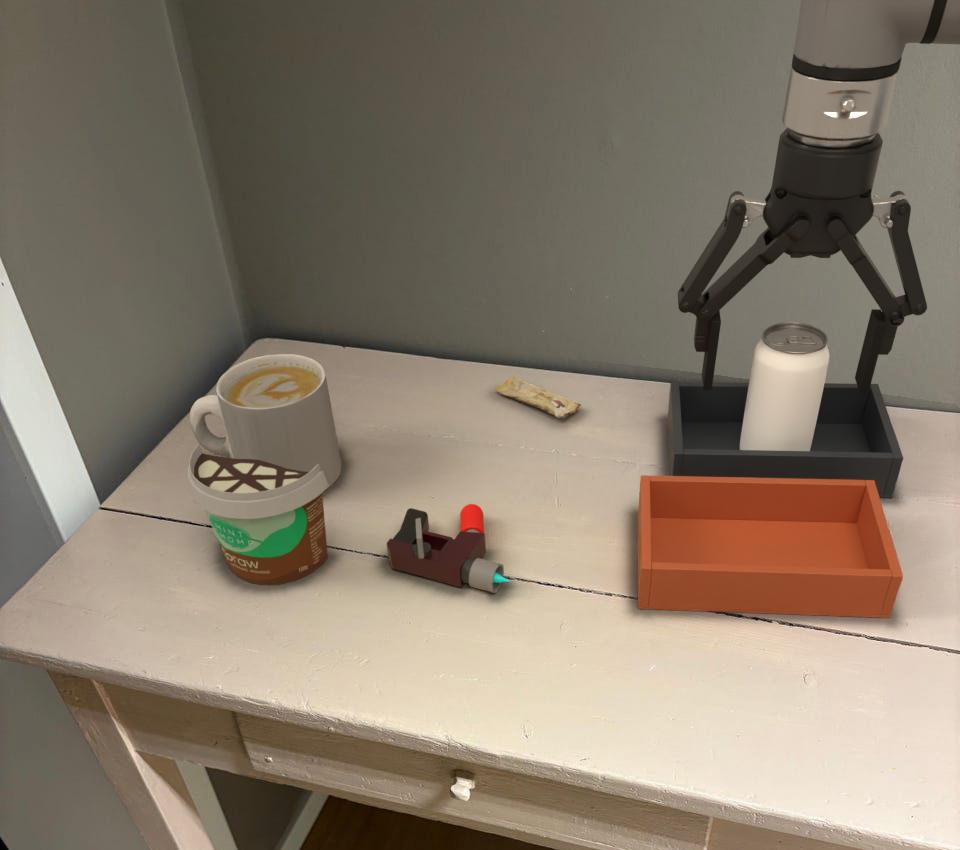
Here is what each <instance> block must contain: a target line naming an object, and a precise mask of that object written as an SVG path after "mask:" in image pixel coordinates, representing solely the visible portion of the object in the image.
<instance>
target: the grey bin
mask: <svg viewBox="0 0 960 850" xmlns="http://www.w3.org/2000/svg"><path fill="white" fill-rule="evenodd" d="M669 384H670V385H669V397H668V407H667V419H666V423H667V444H668V446H667V447H668V466H669V476H698V477H746V478H794V479H842V480H874V481H875V484H876V488H877V491H878V494H879V498H880V499H892V498H893V495H894V492H895V488H896V485H897V482H898V479H899V475H900V471H901V468H902V466H903V465H902V464H903V461H904V455H903V453H902V450H901V447H900V443H899V441H898V438H897V435H896V432H895V429H894V427H893V424H892V421H891V418H890V415H889V411H888V409H887V406H886V403H885V399H884V397H883V394H882V391H881V389H880V386H879V383H871V385H870V389H869V393H859V389H858V386H857V383H835V382H834V383H831V382H829V383H827V382H825V383H824V388H823V393H822V398H821V402H820V407H819V412H818V416H817V421H816V426H815V430H814V435H813V440H812V444H811V449H810V451H765V450H740V439H741V432H742V425H743V419H744V412H745V406H746V399H747V393H748V386H749V382H739V381H738V382H731V381H729V382H728V381H727V382H725V381H713V384H712V390H703V383H702V381H670V383H669Z"/></svg>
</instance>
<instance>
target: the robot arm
mask: <svg viewBox="0 0 960 850" xmlns="http://www.w3.org/2000/svg"><path fill="white" fill-rule="evenodd" d="M906 44H919V45H920V44H921V45H931V44H933V45H936V44H937V45H959V46H960V0H800V6H799V11H798V20H797V27H796V33H795V40H794V48H793V54H792V60H791V66H790V71H789V78H788V84H787V90H786V94H785V95H786V96H785V99H784V100H785V101H784V107H783V113H782V118H781V121H782V124H783V126H784V127H785V129H784V130H783V131H782V132H781V133H780V135H779V138H778V143H777V144H778V145H777V151H776V155H775V156H776V157H775V162H774V171H773V176H772V182H771V188H770V190H769V192H768V194H767V195H766V197H764V198H756V197H755V198H754V197H746V196H745V195H744V193H743V192H742V191H740V190H738V191H737V190H735V191H733V192H731V194H730V195H729V197H728V201H727V205H726V210H725V213H724V217H723V220H722V221H721V223H720V224H719V226H718V227H717V229H716V231H715V232H714V233H713V236H711V239H710V240H709V241H708V243H707V245H706V246H705V248H704V249H703V251H702V253H701V254H700V256H699V258H697V261H696V262H695V264H694V266H693V267H692V268H691V270H690V272H689V273H688V275H687V277H685V279H684V281H683V283H681V286H680V288H679V289H678V291H677V304H678V305H677V307H678V310H679V311H680V313H683V314H687V313H690V314H691V315H694V316H695V318H696V319H695V324H694V325H695V327H694V333H693V342H694V343H693V346H694V349H695V352H696V353H704V354H703V360H702V361H703V362H702V368H701V369H702V370H701V382H702V383H703V390H712V384H713V382H714V376H715V368H716V362H717V353H718V346H719V339H720V333H721V324H722V319H721V312H720V310H722V309H723V308H724V307H725V305H727V304H728V303H729V302H730V301H731V300H732V299H733V298H734V297H735V296H736V295H737V294H738V293H740V292H741V291H742V290H743V289H744V288H745V287H746V286H747V285H748V284H749V283H750V282H751V281H752V280H753V279H754V278H755V277H757V276H758V274H760V273H761V272H762V271H763V270H764V269H765V268H766V267H767V266H769V265H772V264H774V263H775V261H776V260H778V259H779V258H780V257H781V256H782V255H783V254H784V253H785V255H788V256H790V257H789V258H790V259H801V258H805V257H810V256H812V257H815V258H817V259H818V258H819V259H831V256H833V255H836V254H838V253H839V252H841V253H842V254H843V256H844V257H845V258H846V261H847V262H848V264H849V265H850V266H852V268H853V270H854V271H855V273H856V274H857V276H858V277H859V279H860V281H862V283H863V285H864V286H865V287H866V289H867V291H868V292H869V293H870V296H871V297H872V298H873V300H874V301H875V303H876V304H877V306H878V307H879V308H880V309H877V308H874V309H872V308H871V310H870V314H869V319H868V323H867V327H866V330H865V335H864V339H863V342H862V346H861V351H860V355H859V358H858V359H859V360H858V363H857V367H856V372H855V376H854V379H855V384H857V386H858V389H859V393H869V389H870V385H871V384H872V381H873V377H874V375H875V374H874V373H875V371H876V366H877V362H878V358H879V356H883V355H885V356H888V355H889V354H890V352H891V351H892V350H893V345H894V341H895V338H896V335H897V331H898V327H899V326H901V325H902V324H903V323H904V322H905V317H908V316H911V315H914V316H922V315H923V314H925V313H926V311H927V310H928V303H927V300H926V296H925V292H924V289H923V285H922V281H921V277H920V273H919V268H918V265H917V261H916V258H915V257H916V256H915V253H914V249H913V246H912V241H911V238H910V234H909V227H910V225H909V224H910V220H911V219H910V218H911V211H912V209H911V208H912V206H911V204H910V203H909V200H908V198H907V196H906V194H905V192H903V191H901V190H895V191H893V192H892V193H891V194H890V195H889V196H888V197H881V198H879V197H878V198H872V191H873V188H874V182H875V180H876V179H875V178H876V174H877V169H878V166H879V161H880V157H881V152H882V148H883V143H884V141H883V138H882V136H881V134H880V133H881V132H883V130H885V129H886V127H887V124H888V120H889V116H890V112H891V106H892V103H893V98H894V97H893V96H894V92H895V88H896V83H897V78H898V74H899V70H900V68H901V64H902V59H903V58H902V56H903V53H904V50H905V49H906ZM758 217H762V218H763V221H764V223H765V224H766V226H767V228H766V229H765V230H764V231H763V232H762V233H760V234H759V236H758V237H757V238H756V240H755V242H754V243H753V244H752V246H750V247H749V248H748V249H747V250H746V251H745V252H744V253H743V254H742V255H741V256H740V257H739V258H738V259H737V260H736V261H734V263H733V264H732V265H731V266H729V268H727V270H726V271H725V272H724V273H722V274H721V275H720V276H719V277H718V278H717V279H716V280H715V281H714V282H713V283H712V284H711V285H710V286H709V287H708V285H709V284H710V282H711V281H712V280H713V278H714V276H715V275H716V273H717V271H718V270H719V268H720V267H721V265H722V264H723V262H724V261H725V259H726V258H727V256H728V255H729V253H730V251H731V250H732V249H733V247H734V245H735V244H736V242H737V240H738V239H739V237H740V235H741V232H742V229H747V228H748V227H750V226H751V225H752V224H753V222H754V220H756V218H758ZM872 217H875V218H877V220H878V222H879V224H880V227H882V228H884V229H887V233H888V236H889V240H890V243H891V247H892V251H893V255H894V260H895V262H896V266H897V270H898V274H899V277H900V280H901V281H900V282H901V285H902V288H903V293H904V294H903V295H898V296H895V294H894V292H893V291H892V289H891V287H890V286H889V285H888V283H887V282H886V279H885V278H884V277H883V275H882V274H881V272H880V271H879V269H878V267H877V265H875V263H874V262H873V260H872V259H871V257H870V255H869V254H868V252H867V251H866V249H865V248H864V247H863V245H862V244H861V241H860V239H859V238H858V236H857V234H859V232H860V231H861V230H862V229H863V228H864V227H865V226H866V225H867V224H868V223H869V222H870V221H871V220H872ZM707 287H708V288H707Z"/></svg>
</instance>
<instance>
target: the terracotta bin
mask: <svg viewBox="0 0 960 850" xmlns="http://www.w3.org/2000/svg"><path fill="white" fill-rule="evenodd" d="M639 482H640V483H639V493H638V507H637V585H638V586H637V590H638V591H637V608H638V610H661V611H663V610H664V611H685V612H686V611H691V612H713V613H714V612H715V613H716V612H717V613H719V612H720V613H743V614H745V613H746V614H768V615H769V614H771V615H772V614H773V615H798V616H802V615H803V616H826V617H851V618H853V617H855V618H857V617H859V618H880V619H881V618H882V619H885V618H886V619H890V618H891V615H892V612H893V609H894V605H895V603H896V599H897V596H898V593H899V590H900V587H901V584H902V580H903V578H904V575H903V572H902V568H901V565H900V561H899V558H898V555H897V552H896V548H895V545H894V541H893V538H892V535H891V532H890V528H889V525H888V522H887V518H886V514H885V511H884V508H883V504H882V501H881V498H879V494H878V491H877V488H876V484H875V481H874V480H842V479H794V478H746V477H698V476H670V475H647V474H645V475H643V474H641V475H640V480H639Z"/></svg>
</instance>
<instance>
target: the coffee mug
mask: <svg viewBox="0 0 960 850" xmlns="http://www.w3.org/2000/svg"><path fill="white" fill-rule="evenodd" d="M326 375H327V374H326V371H325V369H324V367H323V366H322V364H320V363H319V362H318V361H316V360H314V359H313V358H310V357H308V356H305V355H301V354H296V353H295V354H294V353H274V354H265V355H262V356H256V357H253V358H249V359H246V360H244V361H242V362H240V363H237V364H235V365H233V366H232V367H230V368H229V369H227V370H226V371H225V372H224V373H223V374H222V375H221V376H220V377H219V379H218V381H217V382H216V384H215V385H216V386H215V387H216V388H215V392H216V394H212V395H211V394H209V395H205V396H202V397H200V398H197V400H196V401H194V403H193V405H192V406H191V408H190V411H189V424H190V427H191V431H192V433H193V436H194V437H195V439H196V441H197V443H198V444H199V443H200V446H201V448H203V449H204V450H206V451H208V452H210V453H212V454H215V455H217V456H218V455H219V456H221V457H224V458H233V459H255V460H261V461H265V462H268V463H272V464H275V465H278V466H281V467H284V468H288V469H293V470H298V471H305V472H310V471H311V470H312V469H313V468H314V467H315V466H316V465H317V464H319V467H320V471H323V472H324V475H325V478H326V480H327V483H328V485H329V486H328V487H327V488H326V489H325V490H324V491H326V490H327V489H329V488H330V487H332V486H333V485H334V484H335V483H336V481H338V479H339V478H340V475H341V473H342V469H343V465H342V458H341V454H340V453H341V452H340V448H339V441H338V436H337V430H336V425H335V420H334V419H335V418H334V415H333V407H332V402H331V398H330V391H329V385H328V380H327V376H326ZM207 415H215V416H216V417H217V418H218V419H219V420H220V422H221V424H222V426H223V429H224V431H225V437H220V436H216V435H215V434H214V433H212V432H211V430H210V429H209V427H208V426H207V422H206V416H207Z"/></svg>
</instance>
